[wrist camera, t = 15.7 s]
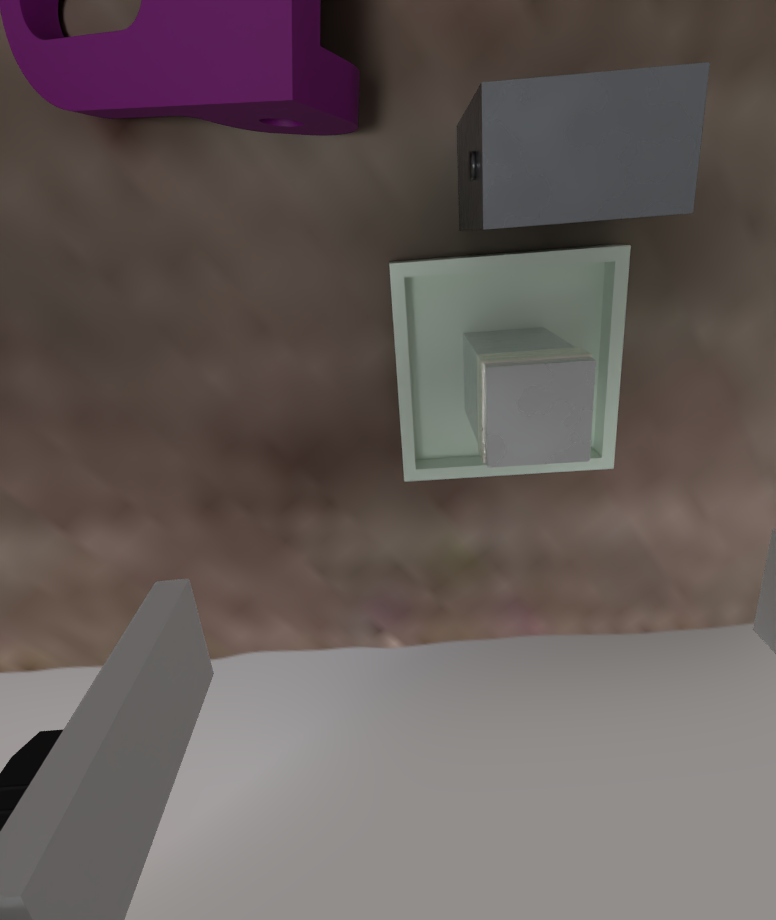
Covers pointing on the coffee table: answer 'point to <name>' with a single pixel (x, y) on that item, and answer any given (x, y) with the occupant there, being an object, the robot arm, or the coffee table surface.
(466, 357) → the module
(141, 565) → the coffee table surface
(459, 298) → the tray
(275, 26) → the mounting bracket
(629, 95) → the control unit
